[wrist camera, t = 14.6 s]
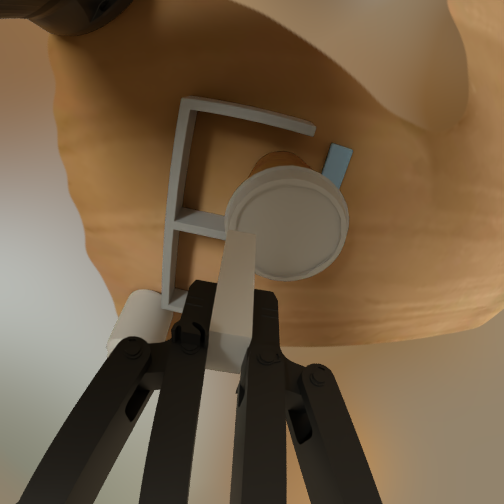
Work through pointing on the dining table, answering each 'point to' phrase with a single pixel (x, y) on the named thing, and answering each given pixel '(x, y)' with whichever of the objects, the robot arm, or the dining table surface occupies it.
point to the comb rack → (175, 212)
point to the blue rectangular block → (336, 163)
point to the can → (141, 319)
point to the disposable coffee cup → (289, 217)
